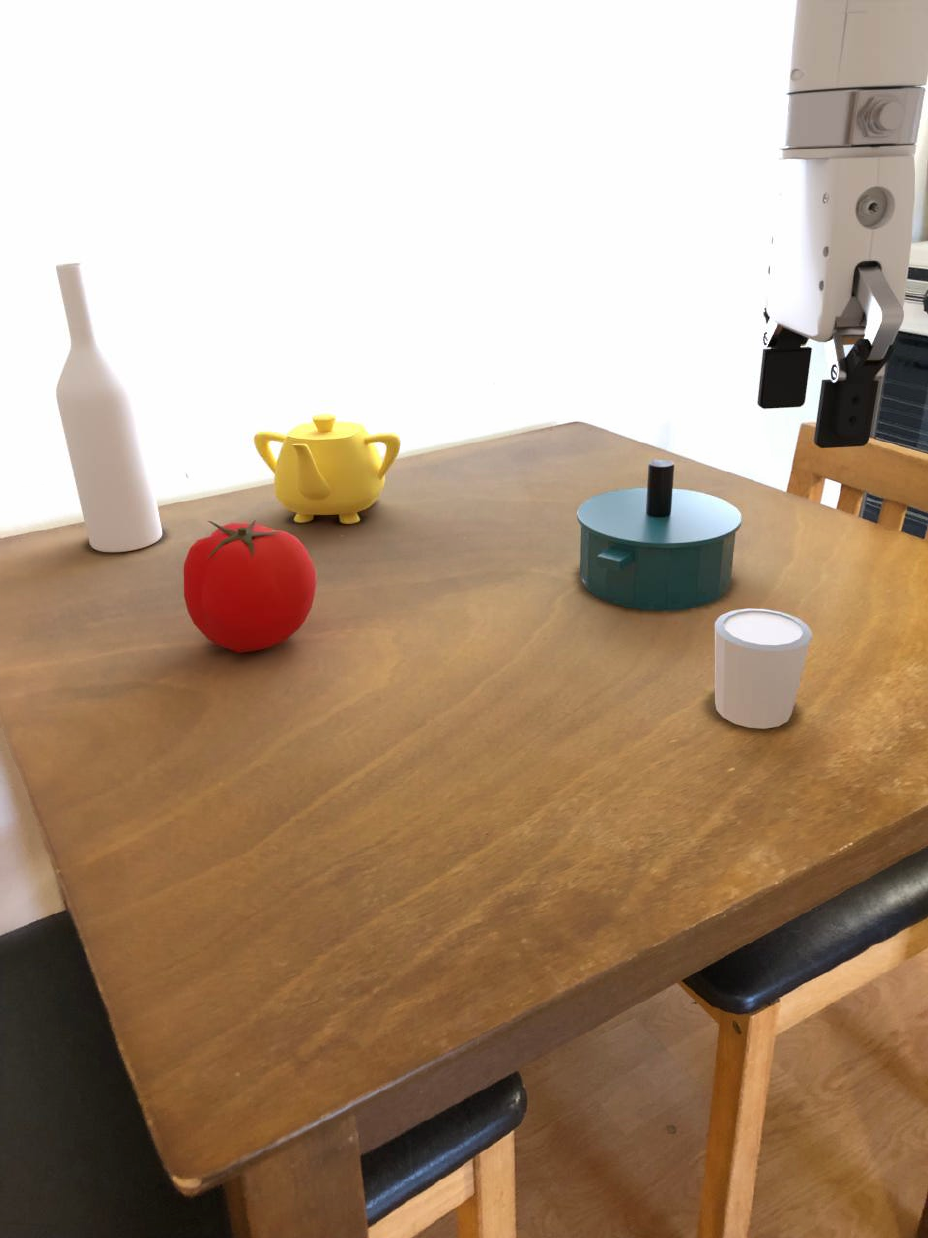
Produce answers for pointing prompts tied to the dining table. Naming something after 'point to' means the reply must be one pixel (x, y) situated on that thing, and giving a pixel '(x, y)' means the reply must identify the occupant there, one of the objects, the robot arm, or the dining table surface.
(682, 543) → the lid
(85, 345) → the bottle
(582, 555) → the pot
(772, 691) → the white cup
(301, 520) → the teapot
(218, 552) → the tomato
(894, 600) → the dining table surface
